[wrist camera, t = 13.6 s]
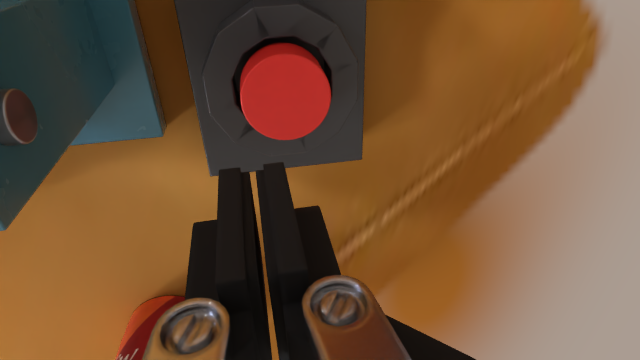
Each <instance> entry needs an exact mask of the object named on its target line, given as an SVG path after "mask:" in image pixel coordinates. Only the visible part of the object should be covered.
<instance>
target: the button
mask: <svg viewBox="0 0 640 360" xmlns="http://www.w3.org/2000/svg"><path fill="white" fill-rule="evenodd" d="M240 102H241V108H242V111H243V114H244V116H245V118H246V119H247V121H248V122H249V124H250V125H251V126H252V127H253V128H254V129H256V130H257V131H258V132H260V133H261V134H263V135H265V136H267V137H270V138H273V139H278V140H292V139H297V138H300V137H303V136H305V135H307V134H309V133H311V132H312V131H313V130H315V129H316V128H317V127H318V126H319V125H320V124H321V123H322V121H323V120H324V118H325V117H326V115H327V113H328V110H329V107H330V103H331V88H330V84H329V81H328V79H327V77H326V75H325V73H324V71H323V69H322V68H321V66H320V64H319V62H318V61H317V59H316V58H315V57H314V56H313V55H312V54H311V53H310V52H309V51H308V50H306V49H304V48H303V47H301V46H298V45H296V44H292V43H285V42H283V43H273V44H269V45H267V46H264V47H262V48H261V49H259V50H257V51H256V52H255V53H254V54H253V55H252V56H251V57H250V58H249V59H248V61H247V62H246V64H245V66H244V67H243V70H242V73H241V78H240Z"/></svg>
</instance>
